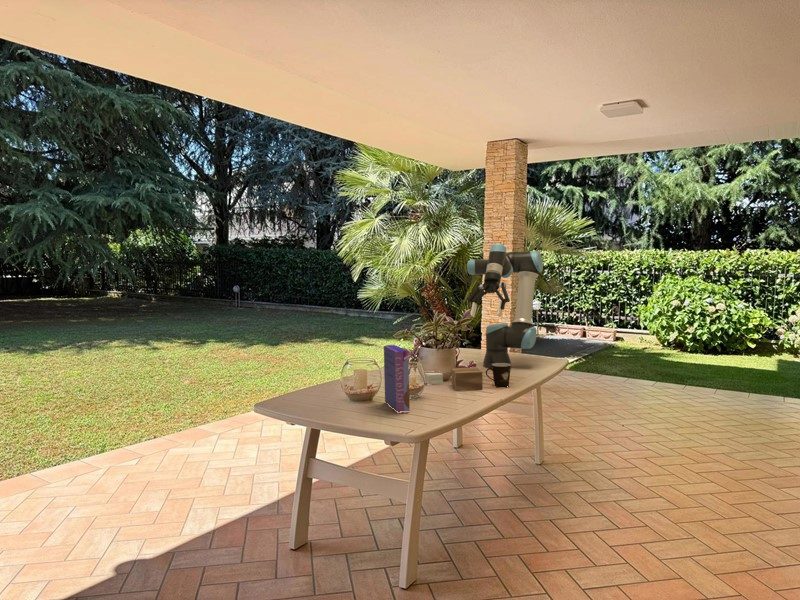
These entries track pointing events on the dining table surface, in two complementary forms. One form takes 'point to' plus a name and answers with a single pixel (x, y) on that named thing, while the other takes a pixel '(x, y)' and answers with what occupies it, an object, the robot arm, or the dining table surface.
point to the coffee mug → (500, 374)
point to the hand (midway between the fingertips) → (485, 316)
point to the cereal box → (396, 377)
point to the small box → (434, 378)
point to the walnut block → (467, 379)
